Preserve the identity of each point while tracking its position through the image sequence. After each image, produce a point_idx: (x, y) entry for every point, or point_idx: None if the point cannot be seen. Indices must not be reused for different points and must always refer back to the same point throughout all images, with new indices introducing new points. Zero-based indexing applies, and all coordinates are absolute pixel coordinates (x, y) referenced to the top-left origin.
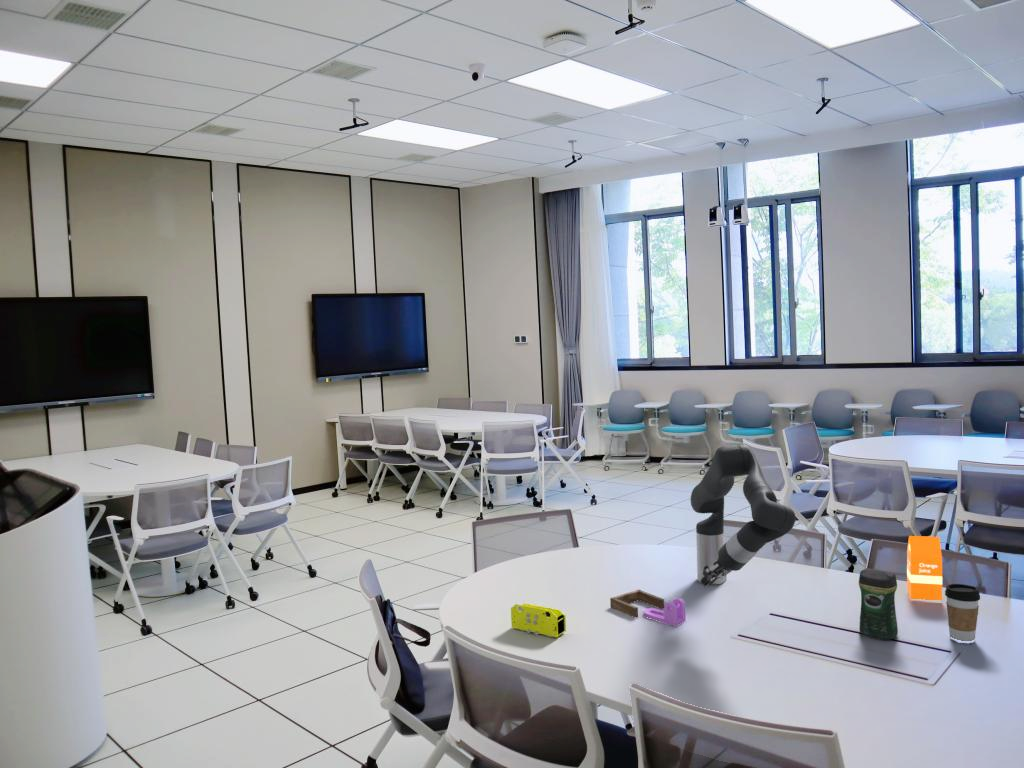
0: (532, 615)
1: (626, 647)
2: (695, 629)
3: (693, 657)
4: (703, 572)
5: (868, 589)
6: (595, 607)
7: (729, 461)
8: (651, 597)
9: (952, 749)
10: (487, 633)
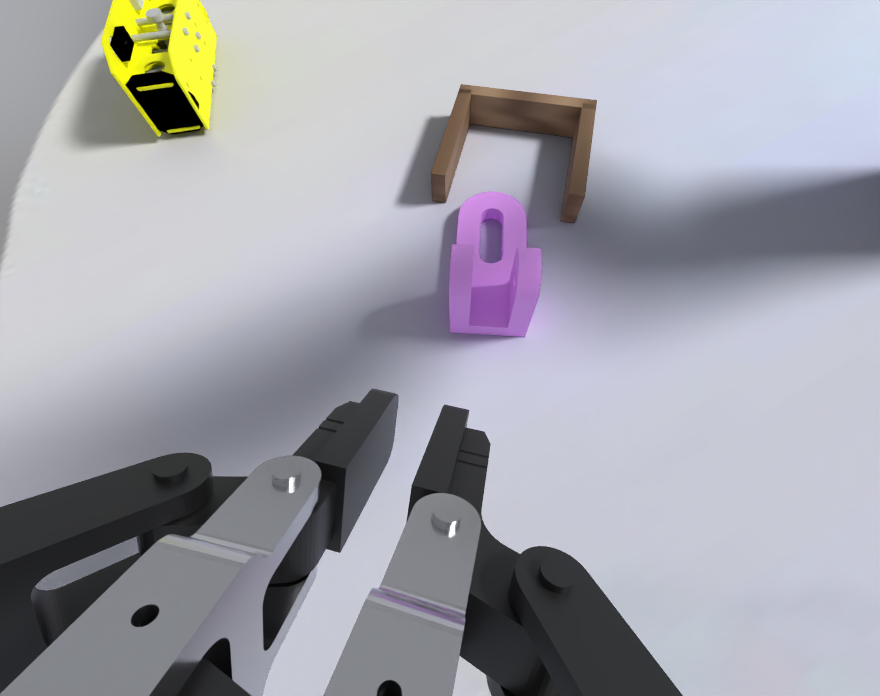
0: (132, 29)
1: (187, 303)
2: (477, 408)
3: None
4: (51, 504)
5: None
6: (431, 91)
7: None
8: (573, 158)
9: None
10: None
